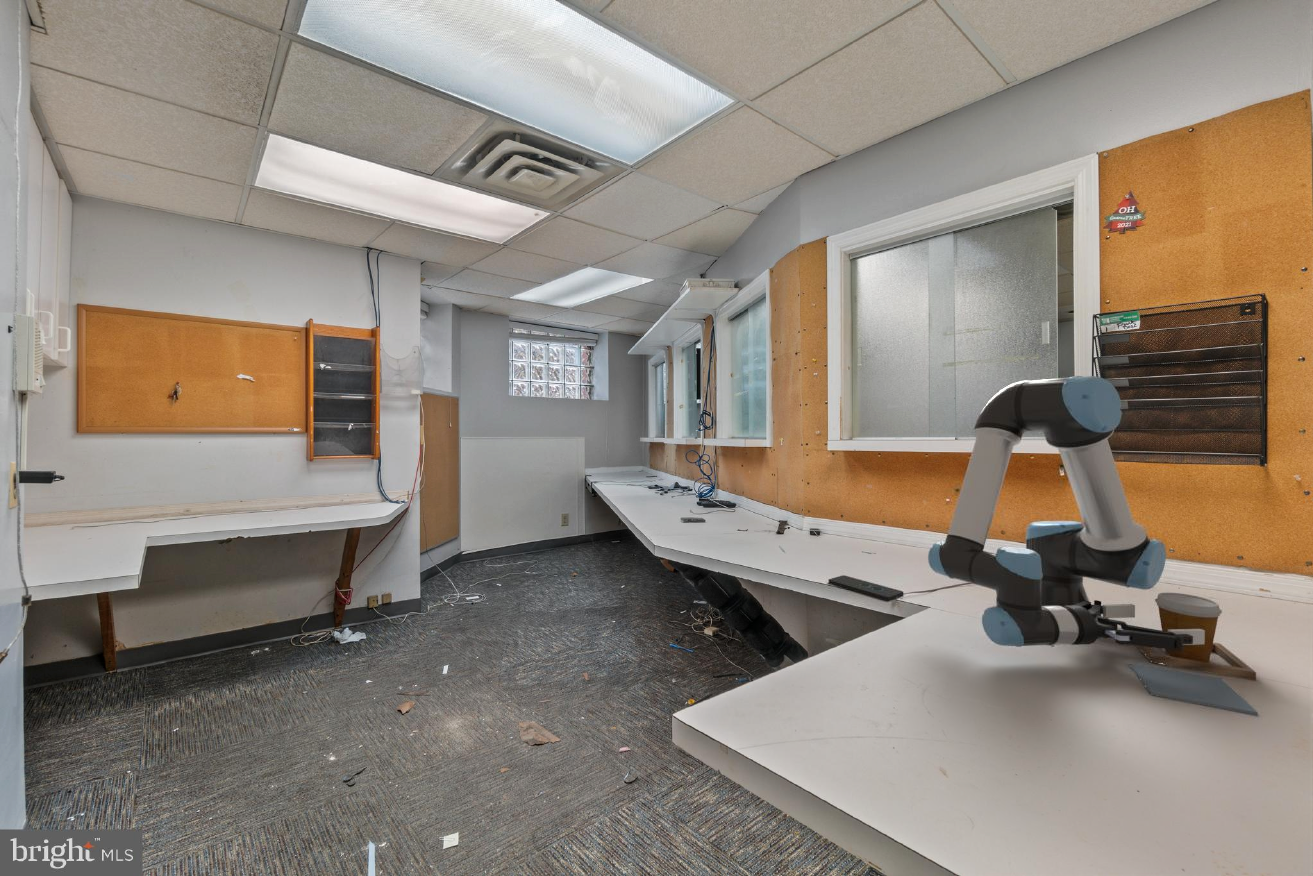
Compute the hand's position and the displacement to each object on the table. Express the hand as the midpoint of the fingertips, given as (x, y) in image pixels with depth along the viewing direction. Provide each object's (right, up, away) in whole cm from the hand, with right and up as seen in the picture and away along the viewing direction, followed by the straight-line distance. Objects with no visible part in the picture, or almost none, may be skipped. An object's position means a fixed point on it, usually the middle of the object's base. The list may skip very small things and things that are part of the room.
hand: (1165, 622), depth 103 cm
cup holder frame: (+5, -7, +1) cm, 9 cm away
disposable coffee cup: (+5, -8, +1) cm, 9 cm away
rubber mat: (-8, -8, -11) cm, 16 cm away
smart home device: (-43, -8, +46) cm, 63 cm away
